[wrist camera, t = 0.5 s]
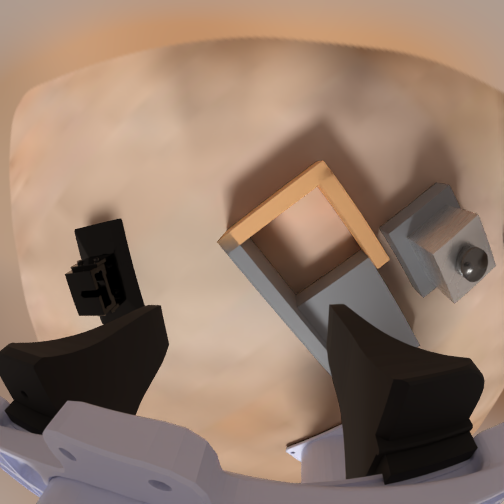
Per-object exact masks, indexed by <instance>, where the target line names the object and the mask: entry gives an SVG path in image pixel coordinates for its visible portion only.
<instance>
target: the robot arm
mask: <svg viewBox="0 0 504 504" xmlns="http://www.w3.org/2000/svg"><path fill="white" fill-rule="evenodd" d="M168 346H169V341H168V337H167V333H166V328H165V324H164V319H163V314H162V309H161V305H147V306H144V307H141V308H139V309H136V310H134V311H132V312H130V313H128V314H126V315H124V316H122V317H119V318H117V319H115V320H113V321H111V322H109V323H106V324H104V325H102V326H99V327H97V328H95V329H92V330H89V331H86V332H83V333H80V334H77V335H74V336H69V337H65V338H61V339H56V340H50V341H43V342H35V343H34V342H33V343H10V344H8V345H7V346H6V347H5V348H3V349H2V350H1V351H0V376H1V378H2V380H3V382H4V384H5V386H6V387H7V389H8V391H9V393H10V394H11V396H12V398H13V399H14V401H13V402H12V403H11V404H9V402H8V401H7V400H5V399H4V398H2V397H1V396H0V468H1V469H2V470H4V471H5V472H6V473H8V474H9V475H10V476H11V477H12V478H14V479H15V480H16V481H18V482H19V483H20V484H22V485H23V486H24V487H26V488H27V489H28V490H30V491H31V492H33V493H34V494H35V495H37V496H38V497H40V498H39V500H38V502H37V503H36V504H500V503H502V502H503V501H504V422H502V423H500V424H498V425H496V426H494V427H491V428H489V429H487V430H484V431H482V432H480V433H479V434H477V435H476V436H475V437H474V438H473V437H472V435H471V433H470V431H471V429H472V428H473V425H472V423H471V421H470V419H469V418H470V416H471V414H472V412H473V410H474V408H475V407H476V405H477V403H478V401H479V399H480V397H481V394H482V391H483V389H484V377H483V374H482V373H481V372H480V370H479V369H478V368H477V367H476V365H475V364H474V363H473V361H472V360H471V359H470V358H463V357H455V356H447V355H442V354H438V353H434V352H430V351H426V350H423V349H420V348H417V347H414V346H411V345H409V344H406V343H404V342H402V341H400V340H398V339H395V338H393V337H391V336H389V335H388V334H386V333H384V332H383V331H381V330H379V329H378V328H376V327H375V326H373V325H372V324H370V323H369V322H367V321H366V320H365V319H363V318H362V317H361V316H359V315H358V314H357V313H355V312H354V311H353V310H352V309H350V308H349V307H348V306H346V305H345V304H330V305H329V317H328V332H327V345H326V347H327V355H328V363H329V368H330V371H331V375H332V379H333V383H334V387H335V390H336V394H337V398H338V402H339V406H340V411H341V419H342V424H341V425H339V426H337V427H335V428H332V429H330V430H328V431H326V432H324V433H321V434H319V435H317V436H314V437H312V438H310V439H307V440H305V441H302V442H300V443H297V444H294V445H292V446H289V447H287V448H286V452H287V453H289V454H290V455H291V456H293V457H294V458H296V459H297V460H299V461H300V462H301V483H288V482H281V481H274V480H268V479H262V478H257V477H252V476H247V475H242V474H237V473H233V472H229V471H224V470H222V468H221V466H220V463H219V460H218V456H217V454H216V452H215V451H214V450H213V448H212V447H211V446H210V444H209V443H208V442H207V441H206V440H205V439H204V438H203V437H201V436H199V435H197V434H196V433H194V432H192V431H191V430H189V429H188V428H186V427H182V426H179V425H176V424H172V423H169V422H166V421H161V420H156V419H150V418H145V417H140V416H136V413H137V410H138V408H139V405H140V403H141V401H142V399H143V397H144V395H145V393H146V391H147V389H148V388H149V386H150V384H151V382H152V380H153V379H154V377H155V375H156V373H157V371H158V370H159V368H160V366H161V364H162V362H163V360H164V357H165V355H166V352H167V349H168Z"/></svg>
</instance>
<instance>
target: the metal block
mask: <svg viewBox="0 0 504 504" xmlns="http://www.w3.org/2000/svg"><path fill="white" fill-rule="evenodd" d="M406 238H407V239H408V241H409V243H410V245H411V247H412V248H413V250H414V252H415V254H416V256H417V258H418V260H419V262H420V264H421V266H422V268H423V270H424V272H425V274H426V276H427V278H428V280H429V281H430V282H431V283H432V284H433V285H435V286H436V287H437V288H438V289H439V290H440V291H441V292H442V293H443V294H445V295H446V296H447V297H448V298H449V299H450V300H451V301H452V302H453V303H456V302H457V301H458V300H459V299H460V298H462V297H463V296H464V295H465V294H466V293H467V292H468V291H470V290H471V289H472V288H473V287H474V286H475V285H476V284H477V283H478V282H479V281H481V280H482V279H483V278H484V277H485V276H486V275H487V274H488V273H489V272H490V271H491V270H492V269H493V268H494V267H495V266H496V264H495V261H494V258H493V254H492V251H491V248H490V245H489V242H488V239H487V236H486V233H485V231H484V228H483V225H482V223H481V220H480V217H479V215H478V214H476V213H473V212H469V211H466V210H463V209H460V208H457V207H453V206H450V205H447V204H446V205H445V206H444V207H443V208H441V209H440V210H439V211H438V212H437V213H436V214H434V215H433V216H432V217H431V218H430V219H428V220H427V221H426V222H425V223H423V224H422V225H421V226H420V227H419V228H417V229H416V230H415V231H414V232H412V233H411V234H410V235H408V236H407V237H406Z"/></svg>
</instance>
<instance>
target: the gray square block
mask: <svg viewBox="0 0 504 504" xmlns="http://www.w3.org/2000/svg"><path fill="white" fill-rule="evenodd" d="M446 204H447V205H450V206H453V207H457V208H460V206H459V204H458V202H457V200H456V197H455V195H454V193H453V191H452V189H451V187H450V185H448V184H442V183H435V184H434V185H433V186H432V187H430V188H429V189H428V190H427V191H425V192H424V193H423V194H422V195H420V196H419V197H418V198H417V199H416V200H414V201H413V202H412V203H411V204H409V205H408V206H407V207H405V208H404V209H403V210H402V211H400V212H399V213H398V214H397V215H395V216H394V217H393V218H391V219H390V220H389V221H387V222H386V223H385V224H384V225H382V226H381V227H380V230H381V232H382V233H383V235H384V236H385V238H386V240H387V241H388V243H389V245H390V246H391V248H392V250H393V252H394V253H395V255H396V257H397V259H398V260H399V262H400V264H401V266H402V267H403V269H404V271H405V273H406V275H407V276H408V278H409V280H410V282H411V284H412V286H413V288H414V289H415V290H416V291H417V292H418V293H419V294H420V295H421V296H422V297H423V298H424V297H425V296H426V295H427V294H429V293H430V292H431V291H432V290H434V289H435V288H436V286H435V285H433V284H432V283H431V282H430V281H429V280H428V278H427V276H426V274H425V272H424V270H423V268H422V266H421V264H420V262H419V260H418V258H417V256H416V254H415V252H414V250H413V248H412V247H411V245H410V243H409V241H408V239H407V238H406V237H407V236H408V235H410V234H411V233H412V232H414V231H415V230H416V229H417V228H419V227H420V226H421V225H422V224H423V223H425V222H426V221H427V220H428V219H430V218H431V217H432V216H433V215H434V214H436V213H437V212H438V211H439V210H440V209H441V208H443V207H444V206H445V205H446ZM460 209H461V208H460Z"/></svg>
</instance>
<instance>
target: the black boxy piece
mask: <svg viewBox="0 0 504 504" xmlns="http://www.w3.org/2000/svg"><path fill="white" fill-rule="evenodd" d="M75 236H76V240H77V244H78V248H79V252H80V256H81V259H82V260H79V261H77V264H75V265H73V266H72V267H71V269H72V270H71V271H70V272H68V273H66V274H65V276H66V279H67V282H68V285H69V289H70V292H71V295H72V297H73V300H74V303H75V306H76V309H77V311H78V314H79V316H100V319H101V322H102V324H106V323H109V322H111V321H113V320H115V319H117V318H119V317H122V316H124V315H126V314H128V313H130V312H132V311H134V310H136V309H139V308H141V307H144V306H145V305H144V302H143V299H142V295H141V292H140V289H139V285H138V282H137V278H136V275H135V271H134V267H133V264H132V260H131V256H130V252H129V248H128V244H127V240H126V236H125V231H124V227H123V222H122V219H116V220H111V221H107V222H103V223H99V224H95V225H91V226H87V227H83V228H79V229H75Z"/></svg>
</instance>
